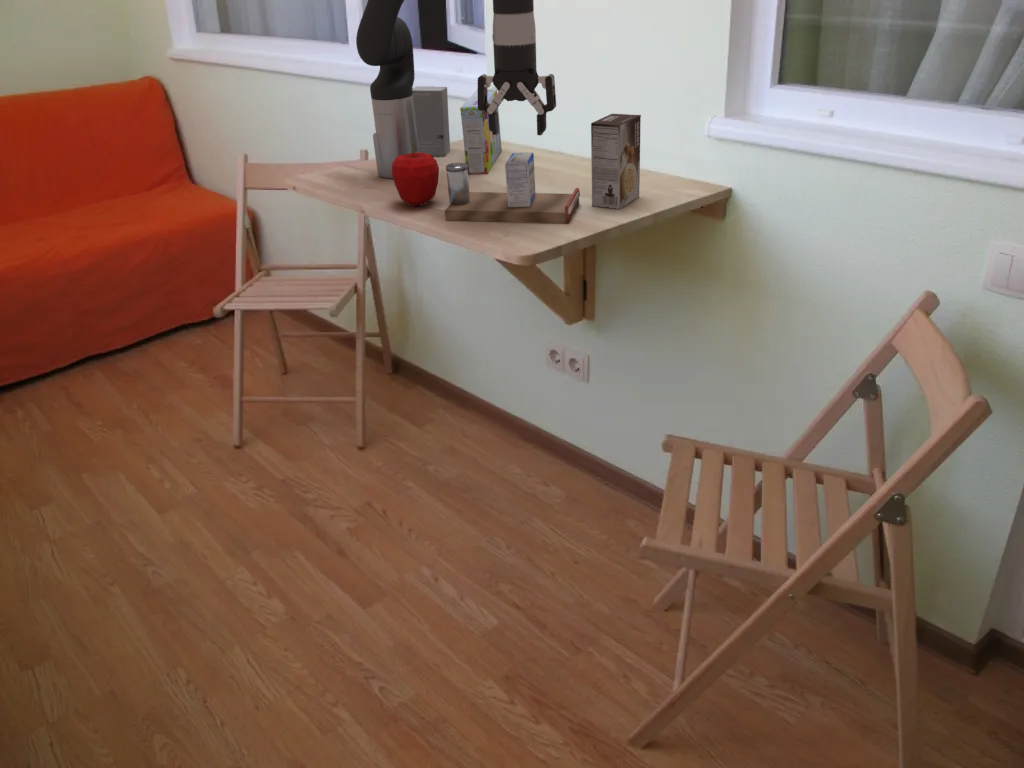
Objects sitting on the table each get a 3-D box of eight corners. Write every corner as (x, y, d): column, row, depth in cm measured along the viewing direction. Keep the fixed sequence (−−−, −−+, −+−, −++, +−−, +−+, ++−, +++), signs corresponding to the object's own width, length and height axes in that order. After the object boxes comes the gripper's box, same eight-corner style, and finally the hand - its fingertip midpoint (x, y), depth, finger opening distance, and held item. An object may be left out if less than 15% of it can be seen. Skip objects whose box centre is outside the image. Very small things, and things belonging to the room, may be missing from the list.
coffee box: (611, 193, 167) (611, 112, 159) (640, 197, 164) (642, 114, 156) (590, 206, 160) (590, 122, 152) (620, 210, 157) (621, 124, 149)
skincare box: (413, 157, 203) (406, 90, 195) (420, 150, 209) (413, 85, 201) (446, 156, 201) (440, 89, 193) (453, 149, 207) (447, 84, 200)
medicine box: (530, 208, 155) (528, 162, 150) (507, 208, 155) (504, 162, 151) (535, 195, 161) (534, 151, 157) (513, 196, 162) (511, 152, 158)
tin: (446, 205, 159) (442, 168, 155) (452, 198, 163) (449, 162, 159) (467, 205, 158) (464, 168, 154) (473, 199, 162) (470, 162, 158)
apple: (429, 212, 162) (423, 157, 157) (386, 209, 165) (379, 155, 160) (449, 197, 170) (445, 145, 165) (408, 195, 173) (402, 143, 168)
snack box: (480, 151, 204) (475, 88, 197) (502, 151, 203) (499, 88, 196) (464, 175, 186) (459, 106, 178) (489, 174, 185) (484, 105, 178)
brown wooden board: (445, 220, 157) (444, 203, 156) (463, 201, 167) (462, 186, 166) (569, 223, 152) (569, 206, 150) (580, 203, 162) (579, 187, 160)
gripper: (558, 37, 145) (559, 130, 153) (481, 37, 148) (486, 129, 157) (549, 43, 139) (551, 139, 147) (469, 43, 142) (475, 138, 150)
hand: (517, 134), depth 152 cm, fingers open, 8 cm apart
